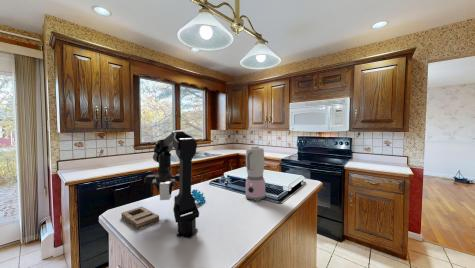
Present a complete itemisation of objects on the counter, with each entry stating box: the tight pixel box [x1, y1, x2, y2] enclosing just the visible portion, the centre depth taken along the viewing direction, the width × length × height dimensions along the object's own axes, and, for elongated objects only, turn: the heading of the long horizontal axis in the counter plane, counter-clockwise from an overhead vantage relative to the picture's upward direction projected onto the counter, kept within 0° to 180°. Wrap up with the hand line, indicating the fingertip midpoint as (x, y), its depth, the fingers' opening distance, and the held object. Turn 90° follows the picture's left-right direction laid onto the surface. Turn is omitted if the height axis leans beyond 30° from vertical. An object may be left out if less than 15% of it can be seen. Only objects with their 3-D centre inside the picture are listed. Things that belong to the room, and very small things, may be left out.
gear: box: [191, 189, 206, 205], centre depth 113 cm, size 11×6×10 cm
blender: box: [245, 145, 266, 202], centre depth 117 cm, size 16×12×32 cm
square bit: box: [159, 181, 172, 201], centre depth 98 cm, size 4×4×8 cm
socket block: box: [121, 206, 160, 230], centre depth 93 cm, size 18×10×2 cm, turn 50°
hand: (165, 194), depth 98 cm, fingers closed on square bit, 4 cm apart
